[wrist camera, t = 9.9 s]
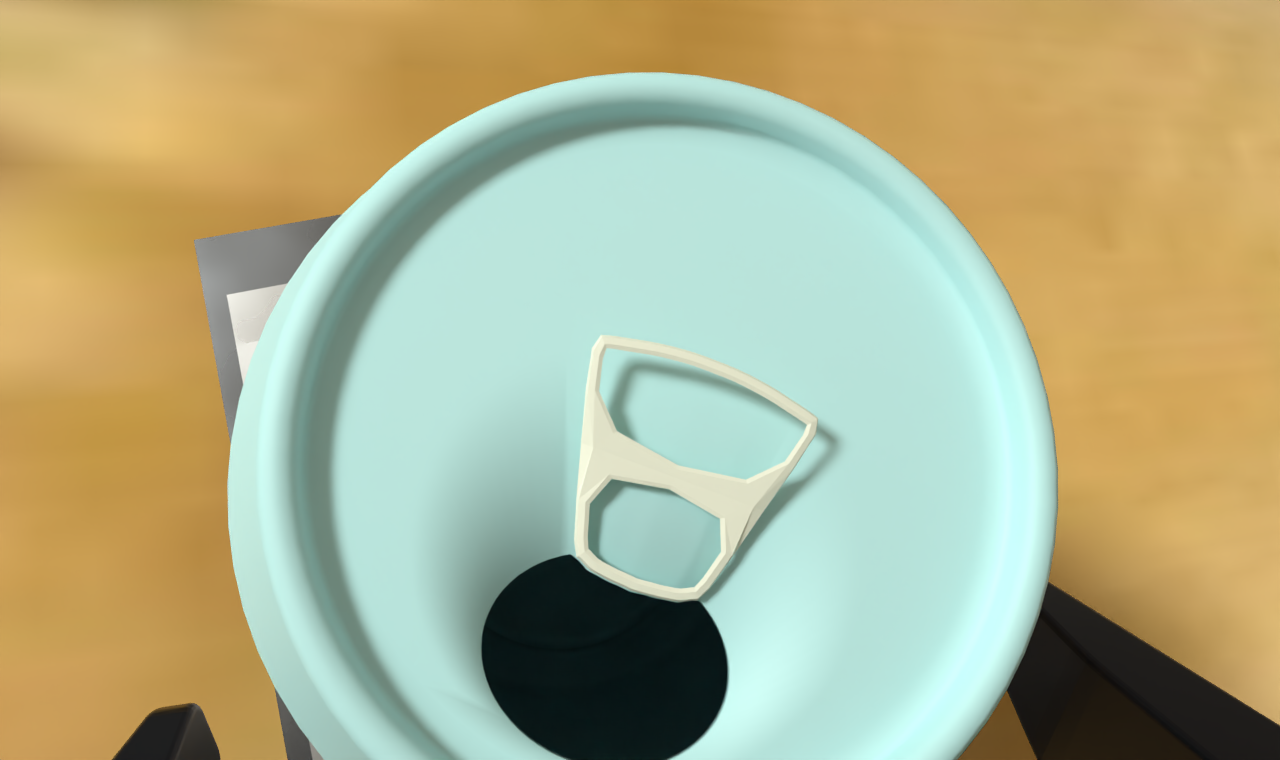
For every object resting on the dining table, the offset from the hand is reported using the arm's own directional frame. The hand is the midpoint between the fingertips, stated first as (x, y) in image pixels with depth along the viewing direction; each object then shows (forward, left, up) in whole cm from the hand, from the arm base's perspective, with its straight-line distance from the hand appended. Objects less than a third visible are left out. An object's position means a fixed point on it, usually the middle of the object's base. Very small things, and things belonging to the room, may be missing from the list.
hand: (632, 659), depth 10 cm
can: (+2, 0, -8) cm, 8 cm away
